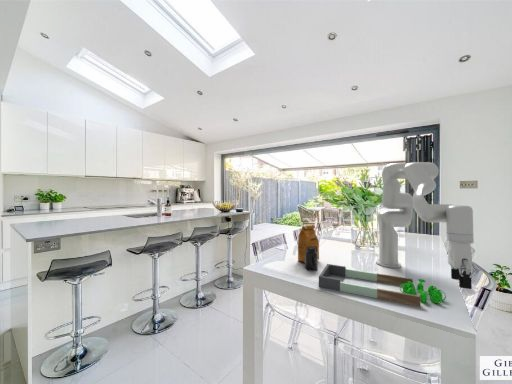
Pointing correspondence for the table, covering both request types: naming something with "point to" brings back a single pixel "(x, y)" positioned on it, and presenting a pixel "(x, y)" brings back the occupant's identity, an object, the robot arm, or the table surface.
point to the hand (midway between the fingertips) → (460, 283)
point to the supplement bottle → (311, 258)
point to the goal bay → (359, 288)
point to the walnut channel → (394, 295)
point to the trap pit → (332, 277)
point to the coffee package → (307, 241)
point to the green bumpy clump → (432, 291)
